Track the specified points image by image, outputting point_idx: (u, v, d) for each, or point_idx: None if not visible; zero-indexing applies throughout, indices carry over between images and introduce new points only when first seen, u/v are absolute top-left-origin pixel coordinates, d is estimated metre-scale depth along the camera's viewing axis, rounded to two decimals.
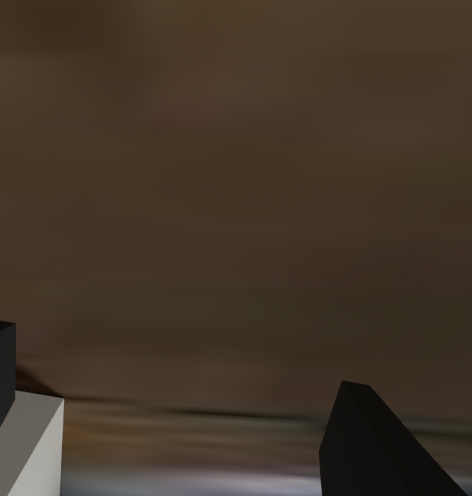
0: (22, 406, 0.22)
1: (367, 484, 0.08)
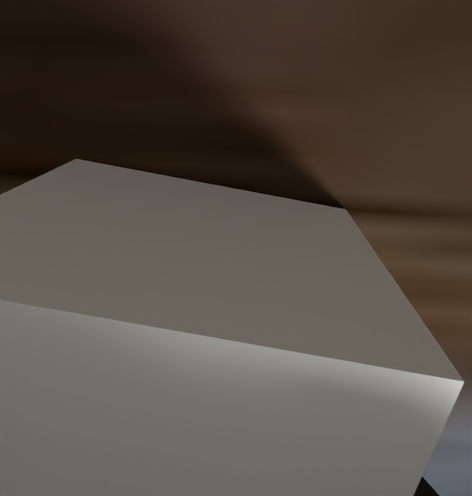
0: (275, 207, 0.09)
1: None
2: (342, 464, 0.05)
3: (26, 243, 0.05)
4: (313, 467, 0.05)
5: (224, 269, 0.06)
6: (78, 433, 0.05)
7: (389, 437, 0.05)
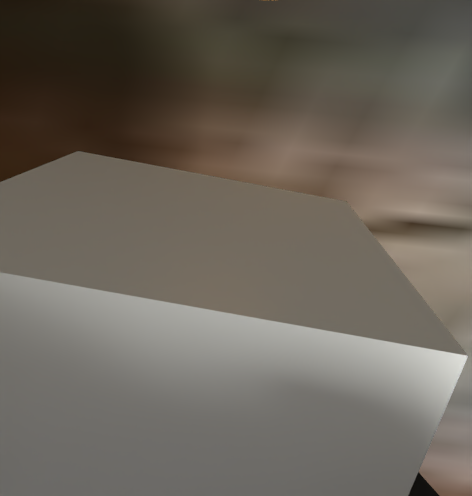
0: (276, 198, 0.09)
1: None
2: (346, 441, 0.05)
3: (30, 224, 0.05)
4: (317, 445, 0.05)
5: (227, 251, 0.06)
6: (82, 411, 0.05)
7: (393, 413, 0.05)
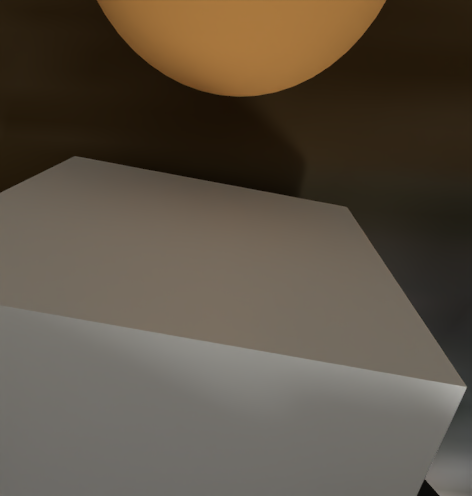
0: (276, 205, 0.09)
1: None
2: (343, 469, 0.05)
3: (23, 245, 0.05)
4: (313, 471, 0.05)
5: (224, 270, 0.06)
6: (77, 437, 0.05)
7: (390, 442, 0.05)
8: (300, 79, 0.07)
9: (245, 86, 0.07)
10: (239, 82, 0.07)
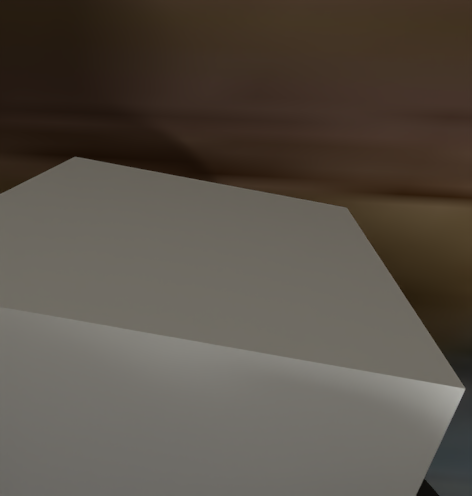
0: (275, 206, 0.09)
1: None
2: (342, 470, 0.05)
3: (23, 246, 0.05)
4: (312, 472, 0.05)
5: (223, 272, 0.06)
6: (76, 438, 0.05)
7: (389, 443, 0.05)
8: None
9: None
10: None
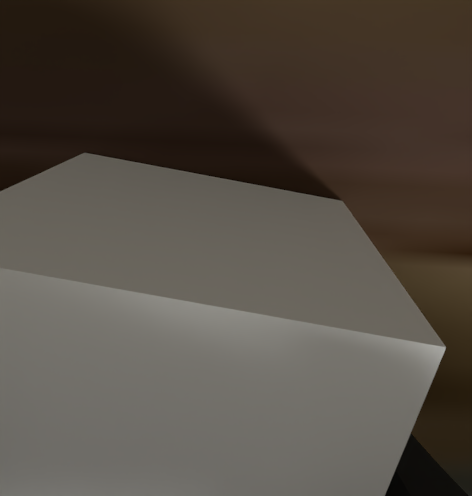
0: (275, 198, 0.09)
1: None
2: (336, 425, 0.05)
3: (45, 226, 0.06)
4: (309, 428, 0.05)
5: (227, 251, 0.06)
6: (95, 398, 0.05)
7: (379, 400, 0.05)
8: None
9: None
10: None
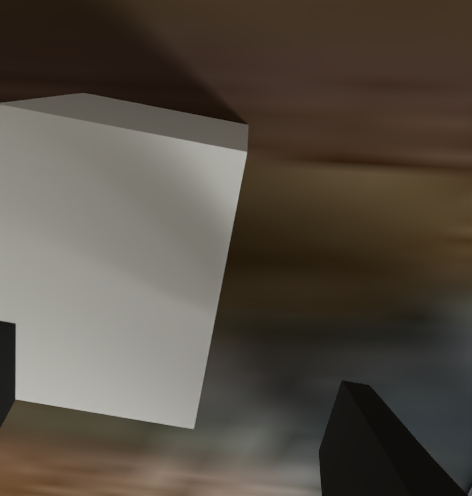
0: (201, 118, 0.15)
1: (367, 484, 0.08)
2: (203, 196, 0.11)
3: (64, 108, 0.12)
4: (190, 197, 0.11)
5: (158, 124, 0.12)
6: (89, 182, 0.11)
7: (221, 181, 0.11)
8: None
9: None
10: None
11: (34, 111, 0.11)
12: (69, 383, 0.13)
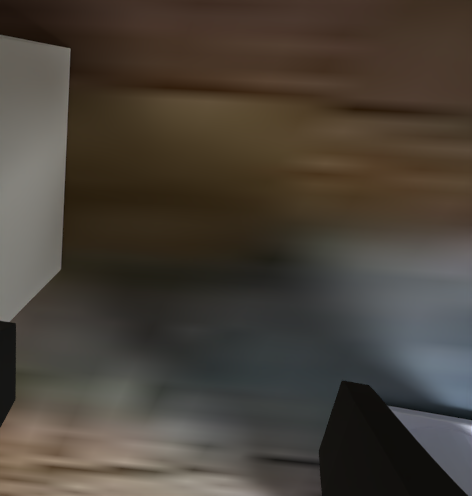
0: (10, 37, 0.15)
1: (367, 484, 0.08)
2: None
3: None
4: None
5: None
6: None
7: None
8: None
9: None
10: None
11: None
12: None
